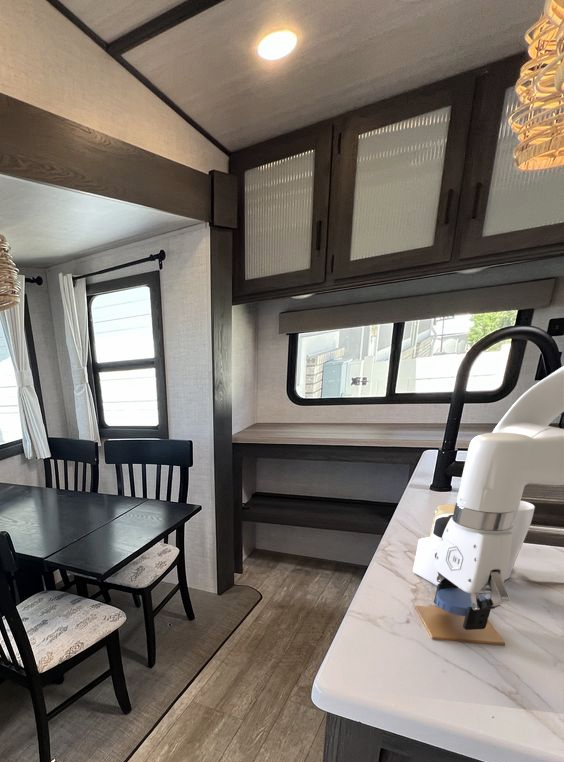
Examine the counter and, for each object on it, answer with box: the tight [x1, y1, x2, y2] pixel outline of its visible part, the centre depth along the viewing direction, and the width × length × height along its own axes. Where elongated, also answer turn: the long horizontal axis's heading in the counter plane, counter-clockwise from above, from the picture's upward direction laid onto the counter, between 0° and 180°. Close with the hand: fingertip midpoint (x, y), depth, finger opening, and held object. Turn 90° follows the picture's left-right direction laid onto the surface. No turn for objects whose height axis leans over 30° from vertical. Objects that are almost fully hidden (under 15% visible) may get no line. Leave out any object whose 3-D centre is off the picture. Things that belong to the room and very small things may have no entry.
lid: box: [434, 587, 485, 616], centre depth 77 cm, size 7×7×1 cm
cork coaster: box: [414, 605, 506, 646], centre depth 79 cm, size 10×10×1 cm
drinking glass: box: [504, 500, 536, 581], centre depth 90 cm, size 7×7×15 cm
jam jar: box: [429, 503, 456, 537], centre depth 104 cm, size 7×7×9 cm
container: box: [412, 514, 453, 587], centre depth 91 cm, size 8×8×13 cm
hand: (458, 614), depth 78 cm, fingers closed on lid, 7 cm apart
